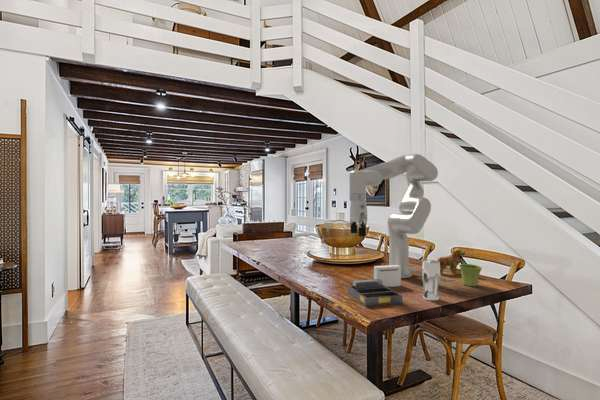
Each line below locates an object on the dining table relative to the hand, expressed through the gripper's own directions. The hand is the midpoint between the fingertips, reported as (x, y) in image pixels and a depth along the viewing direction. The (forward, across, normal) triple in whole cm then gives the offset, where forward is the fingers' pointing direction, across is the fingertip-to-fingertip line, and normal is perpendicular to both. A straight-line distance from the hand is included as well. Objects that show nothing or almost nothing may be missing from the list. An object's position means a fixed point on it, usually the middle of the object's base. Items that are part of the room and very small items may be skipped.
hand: (357, 234), depth 151 cm
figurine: (+24, +8, -54) cm, 60 cm away
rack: (+23, -20, +2) cm, 31 cm away
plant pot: (+24, -12, -50) cm, 57 cm away
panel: (+23, -6, -12) cm, 27 cm away
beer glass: (+23, -26, -20) cm, 40 cm away
